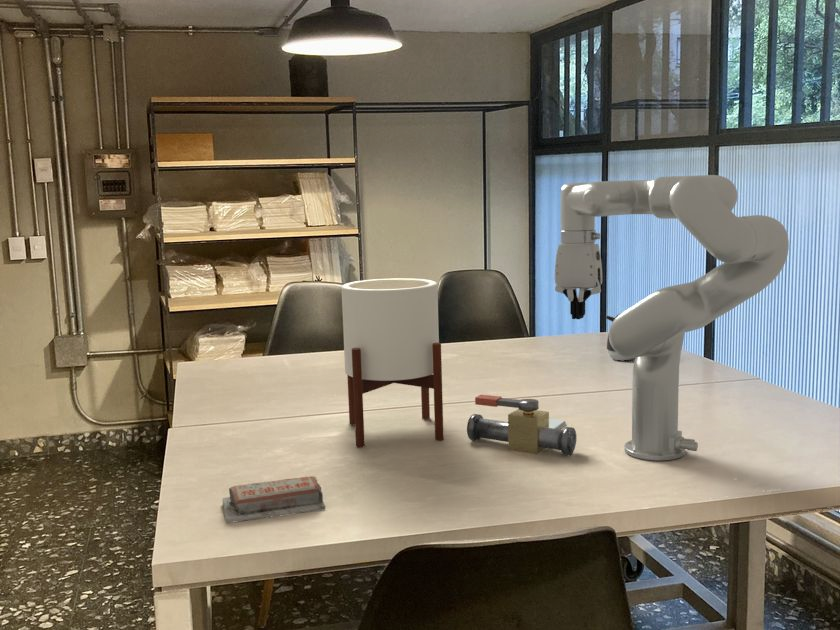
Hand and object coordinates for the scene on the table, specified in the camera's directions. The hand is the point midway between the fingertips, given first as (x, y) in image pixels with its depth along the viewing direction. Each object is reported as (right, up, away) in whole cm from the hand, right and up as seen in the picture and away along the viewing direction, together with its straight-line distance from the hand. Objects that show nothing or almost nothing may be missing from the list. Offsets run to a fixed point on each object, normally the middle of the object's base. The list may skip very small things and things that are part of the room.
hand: (577, 318), depth 195 cm
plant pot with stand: (-42, -27, +10) cm, 51 cm away
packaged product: (-64, -36, -36) cm, 81 cm away
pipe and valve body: (-14, -29, -5) cm, 32 cm away
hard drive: (-8, -27, +8) cm, 29 cm away
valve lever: (-17, -20, -5) cm, 26 cm away
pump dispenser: (+29, -14, +81) cm, 87 cm away
